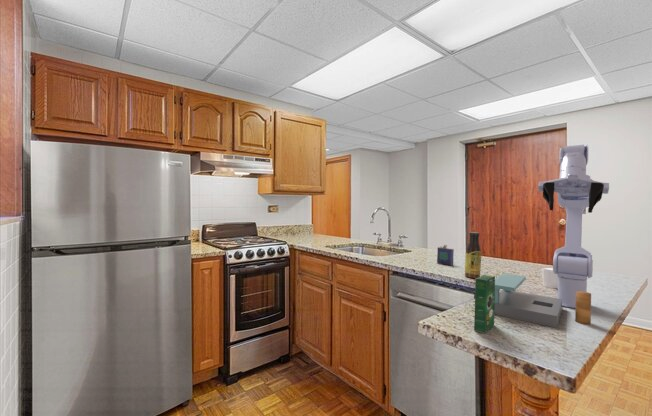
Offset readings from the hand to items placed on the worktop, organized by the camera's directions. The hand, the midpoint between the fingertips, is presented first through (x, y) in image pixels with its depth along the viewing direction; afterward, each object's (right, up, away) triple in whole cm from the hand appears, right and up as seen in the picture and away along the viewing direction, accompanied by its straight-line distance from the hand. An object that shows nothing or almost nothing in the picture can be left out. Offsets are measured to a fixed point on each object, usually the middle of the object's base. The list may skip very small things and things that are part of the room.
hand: (570, 208), depth 77 cm
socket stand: (-1, -31, +15) cm, 34 cm away
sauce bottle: (+4, -31, +59) cm, 67 cm away
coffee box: (-21, -31, +1) cm, 37 cm away
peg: (+8, -31, +6) cm, 33 cm away
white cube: (+28, -31, +45) cm, 62 cm away
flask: (+3, -31, +89) cm, 94 cm away
